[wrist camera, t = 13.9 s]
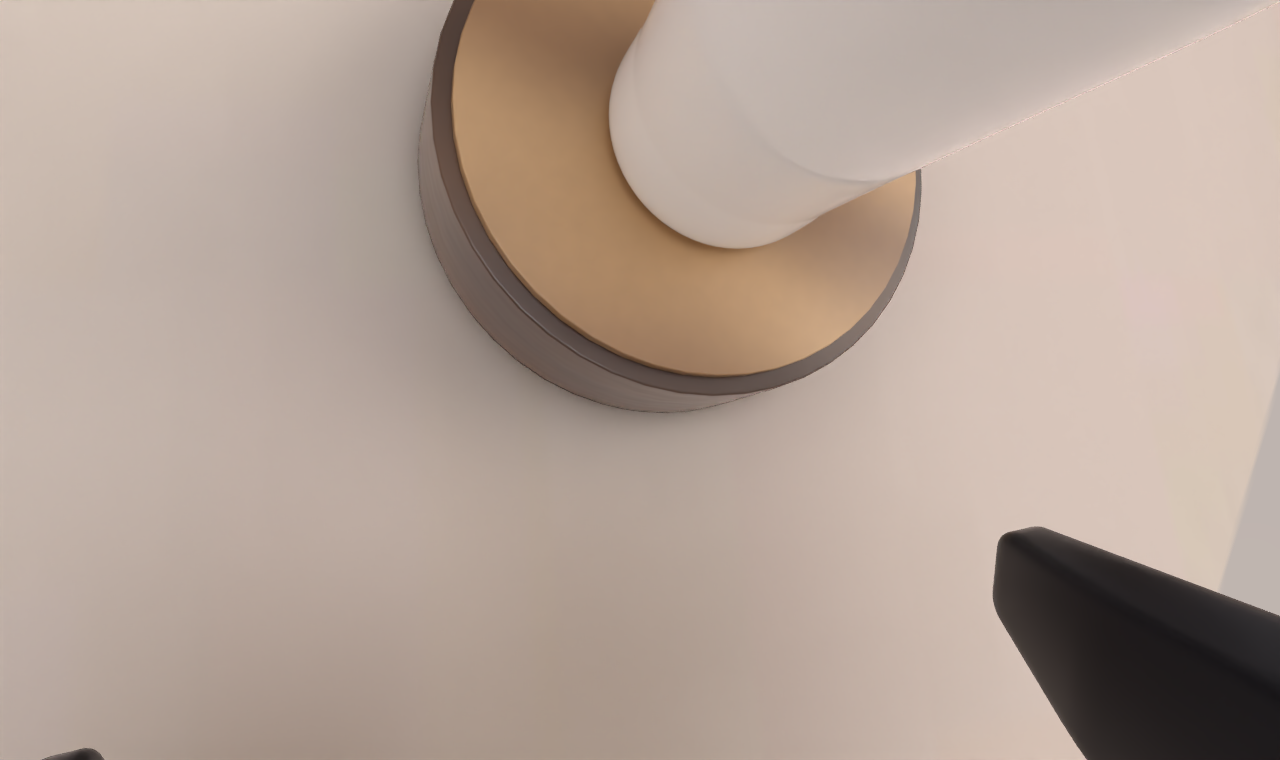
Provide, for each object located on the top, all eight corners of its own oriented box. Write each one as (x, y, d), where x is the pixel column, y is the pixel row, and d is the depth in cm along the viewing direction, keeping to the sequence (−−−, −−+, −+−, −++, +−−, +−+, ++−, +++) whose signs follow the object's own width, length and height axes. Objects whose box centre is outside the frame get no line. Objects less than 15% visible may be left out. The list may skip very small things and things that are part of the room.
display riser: (812, 463, 23) (892, 454, 19) (355, 334, 19) (358, 297, 16) (878, 72, 25) (958, 7, 22) (488, -101, 22) (514, -209, 19)
